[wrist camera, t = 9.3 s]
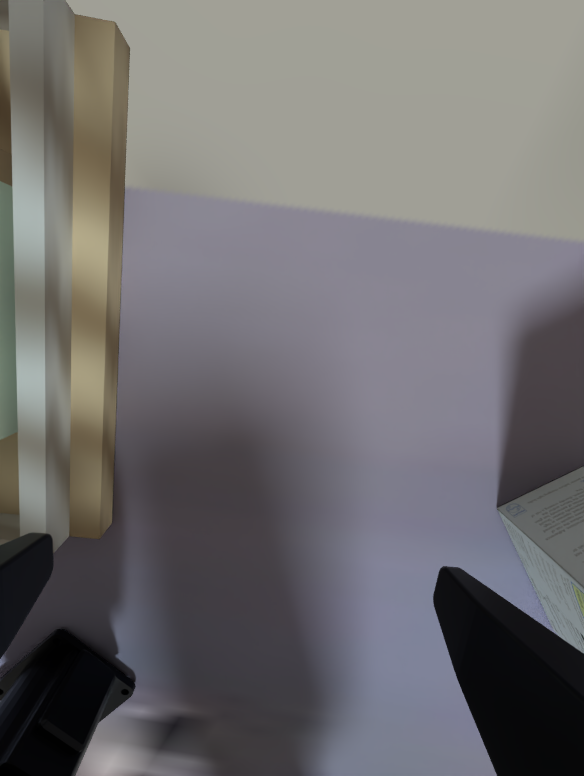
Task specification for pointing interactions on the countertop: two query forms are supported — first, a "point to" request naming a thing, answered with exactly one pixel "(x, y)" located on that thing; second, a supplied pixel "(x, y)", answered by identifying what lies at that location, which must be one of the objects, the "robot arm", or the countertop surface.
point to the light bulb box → (553, 549)
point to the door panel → (7, 303)
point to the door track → (63, 263)
